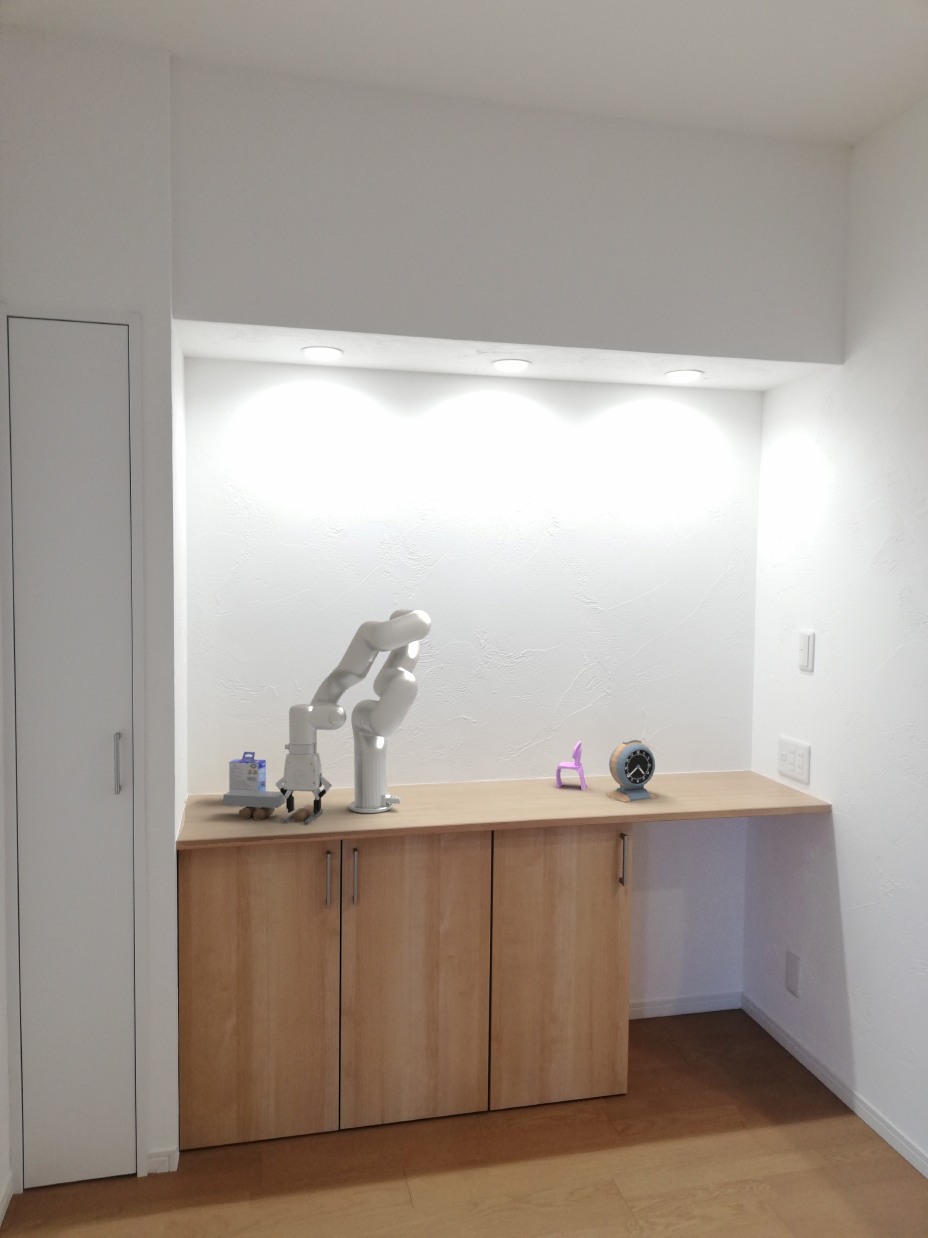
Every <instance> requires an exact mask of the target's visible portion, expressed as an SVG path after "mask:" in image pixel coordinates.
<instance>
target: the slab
mask: <svg viewBox="0 0 928 1238" xmlns="http://www.w3.org/2000/svg"><path fill="white" fill-rule="evenodd" d="M222 796H223V806H227V807H229V806H230V807H246V806H247V807H260V808H261V807H268V808H275V809H279V808H280V807H282V806H283V805H284V804H286V798H285V797H284V795H283V794H282V793H281V792H280V791H269V790H266V791H250V790H231V791H230V792H229V791H227V792H226V793H223V795H222Z"/></svg>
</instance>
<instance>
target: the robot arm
mask: <svg viewBox="0 0 928 1238" xmlns="http://www.w3.org/2000/svg"><path fill="white" fill-rule="evenodd" d="M431 630H432V620H431V618H430V616H429V614H427V613H426V612H424V611H423V610H419V609H407V608H406V609H405V608H404V609H403V608H402V609H401V608H400V609H397V610H395V611H393V612H392V614H390V616H389V619H388V620H385V621H377V620H368V621H365V622H363V623H362V624H361V625H360V626H359V627H358V629H357V630H356V632H355V634H354V635H353V637H352V639H351V641H350V643H349V645H348V646H347V648H346V651H345V653H344V654H343V656H342V658H341V660H340V661H339V663H338V664H337V666H336V667H335V668H334V669H332V671H331V672H330V673H329V675H327V677H326V678H324V680H323V681H322V682H321V684H320V685H319V686H318V688H317V690H316V692H315V694H314V695H313V697H312V699H311V701H310V704H309V703H307V704H306V703H301V704H294V705H292V706H290V708H289V710H288V721H289V722H288V723H289V724H288V727H289V729H288V730H289V731H288V732H289V733H288V734H289V735H288V737H289V738H288V739H289V742H288V743H285V744H284V750H288V752H287V753H286V756H285V760H284V766H283V767H284V769H283V776H282V777H281V778H280V779H279V780H278V781H277V782H275V786H276V787H277V789H278V790H279V792H281V793H282V794H283V795H284V797H285V798H286V803H285V804H286V805H285V806H286V810H287V813H288V814H289V813H292V812H294V811H295V797H294V795H293V793H294V792H296V791H297V792H311V793H312V794H313V796H314V799H313V808H314V812H313V814H317V813H318V812H319V811H320V810H321V809H322V798H323V797H324V796H325V795H326V794H327V792H328V791H330V789H331V787H332V786H333V785H332V784H331V783H330V781H328V779H326V778H325V777H324V776H323V768H322V762H321V756H320V753H319V752H318V746H317V745H318V743H317V741H318V739H317V736H318V735H317V734H318V731H317V730H320V731H321V730H323V731H336V730H338V729H341V728H342V727H343V726H344V725H345V724H346V721H347V713H346V710H345V709H344V708H343V707H342V706H341V705H339V704H338V703H339V701H340V699H341V698H342V697H343V695H344V694H345V693H346V692H347V690H349V689H350V688H352V687H353V686H356V685H357V684H359V683H361V682H362V681H364V679H366V678H367V675H368V673H369V672H370V669H371V667H372V666H373V664H374V663H375V661H376V659H377V657H378V655H379V653H380V652H382V653H384V652H385V653H386V652H390V653H389V655H388V657H387V658H386V660H385V662H384V663H383V665H382V666H381V668H380V670H379V672H378V673H377V675H376V677H375V679H374V680H373V685H372V688H373V692H374V694H375V695H376V696H377V697H379V700H375V699H369V698H368V699H364V700H360V701H359V702H358V703H356V705H355V706H354V707H353V708H352V711H351V718H350V719H351V721H350V722H351V729H352V734H353V753H354V758H353V762H354V764H353V766H354V767H353V769H354V771H353V772H354V775H353V777H354V778H353V779H354V780H353V781H354V783H353V784H354V787H353V788H354V793H353V794H354V800H353V801H351V802H350V803H349V805H348V807H349V810H350V811H352V812H356V813H360V814H361V813H362V814H374V813H375V814H377V813H383V812H387V811H390V810H392V809H393V805H401V803H402V796H399V795H392V794H391V791H390V790H388V744H387V743H388V741H387V738H389V736H392V735H394V734H395V732H396V731H397V730H398V729H399V728H400V726H401V724H402V723H403V721H404V719H405V717H406V716H407V715H408V712H409V711H410V709H411V707H412V705H413V704H414V702H415V700H416V698H417V694H418V691H419V690H418V689H419V684H418V681H417V678H416V677H415V675H414V674H413V672H414V670H415V668H416V666H417V663H418V661H419V659H420V655H421V643H420V641H421V640H423V639H424V638H426V637H427V636H428V635H429V633H430V631H431ZM322 786H323V787H324V788H323V789H322V790H321V789H320V788H321V787H322Z"/></svg>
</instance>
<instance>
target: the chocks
mask: <svg viewBox="0 0 928 1238" xmlns="http://www.w3.org/2000/svg"><path fill="white" fill-rule="evenodd" d="M302 808H303V807H301V808H300V807H299V808H298V809H297V810H296V811H293V813H291V814H289V816H287V817H286V818H284V820H283V823H284V824H288V823H290V822H291V821H293V819H294V814H295V813H296V812H297V811H299V810H300V809H302ZM323 810H324V809H322V808H321V810H320V811H319V812H318V813H317V814H314V813H313V814H311V815H310V816H309V817H307V818H306V819H305V820H304V824H305V825H309V824H311V822H313V821H314V820H315V819H317V818H318V817H320V816H321V815H322V814H323Z"/></svg>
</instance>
